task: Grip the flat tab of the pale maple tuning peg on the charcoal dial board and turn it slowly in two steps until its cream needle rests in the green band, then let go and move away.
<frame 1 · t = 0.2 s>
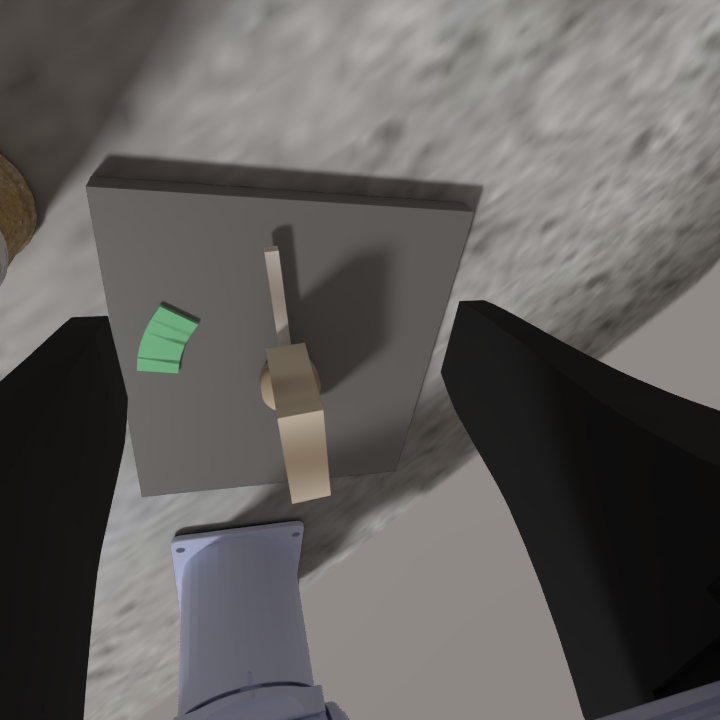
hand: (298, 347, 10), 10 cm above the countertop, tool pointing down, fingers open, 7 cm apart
dial board: (284, 358, 23), on the countertop
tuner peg: (291, 378, 19), point 4 cm above the countertop, hinge at 0.0°
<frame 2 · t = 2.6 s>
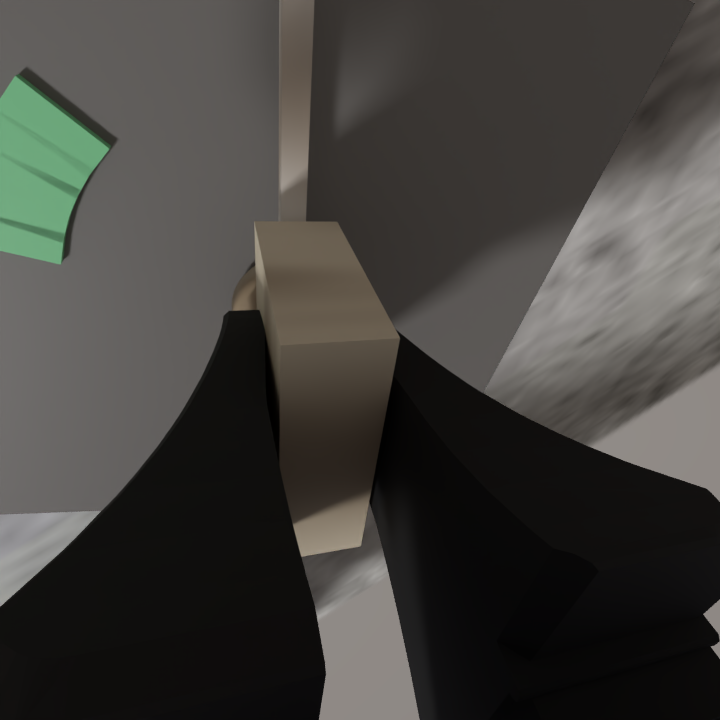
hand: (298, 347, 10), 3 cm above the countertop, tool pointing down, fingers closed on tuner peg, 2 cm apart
dial board: (280, 279, 13), on the countertop
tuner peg: (308, 282, 8), point 4 cm above the countertop, hinge at 0.0°, touching gripper
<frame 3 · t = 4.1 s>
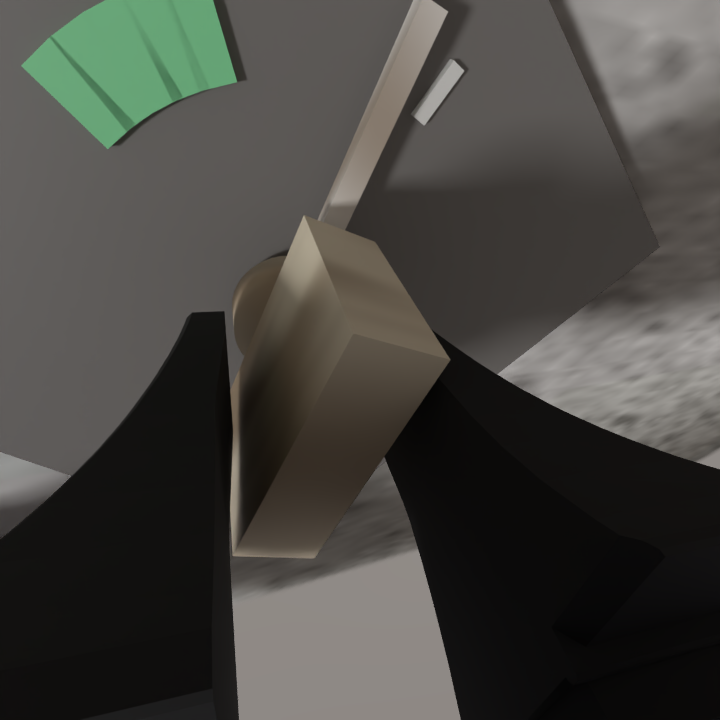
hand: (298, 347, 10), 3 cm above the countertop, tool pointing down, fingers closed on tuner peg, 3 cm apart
dial board: (281, 279, 13), on the countertop
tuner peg: (347, 287, 9), point 4 cm above the countertop, hinge at 11.5°, touching gripper
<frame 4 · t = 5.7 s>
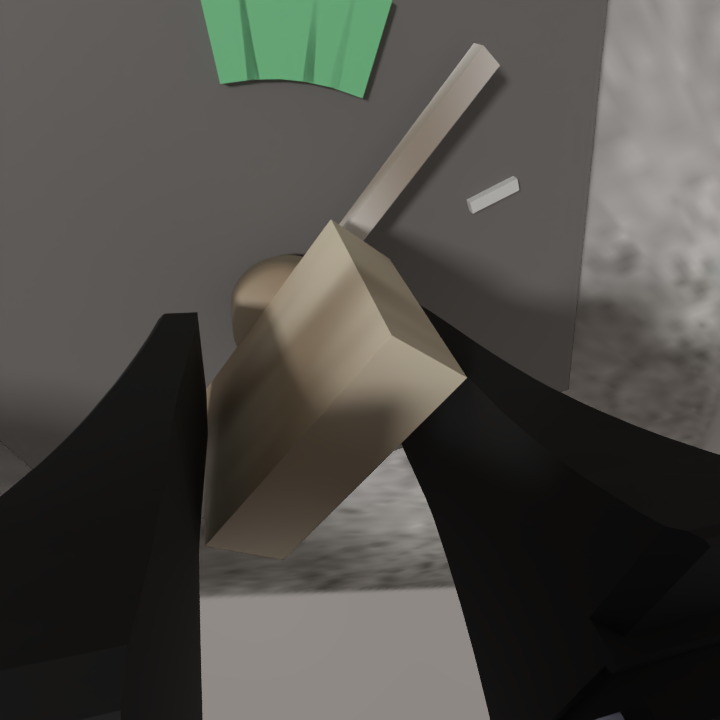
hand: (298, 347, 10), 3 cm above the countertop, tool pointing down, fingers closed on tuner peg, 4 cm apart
dial board: (280, 278, 13), on the countertop
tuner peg: (365, 295, 9), point 4 cm above the countertop, hinge at 28.1°, touching gripper
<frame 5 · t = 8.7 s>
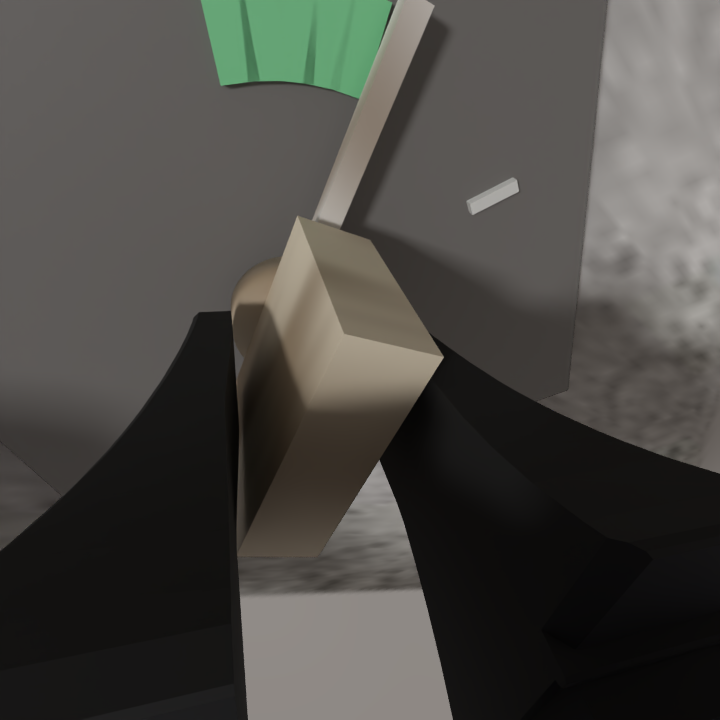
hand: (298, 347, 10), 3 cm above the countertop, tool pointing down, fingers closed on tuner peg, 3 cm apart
dial board: (280, 279, 13), on the countertop
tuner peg: (342, 286, 9), point 4 cm above the countertop, hinge at 42.7°, touching gripper
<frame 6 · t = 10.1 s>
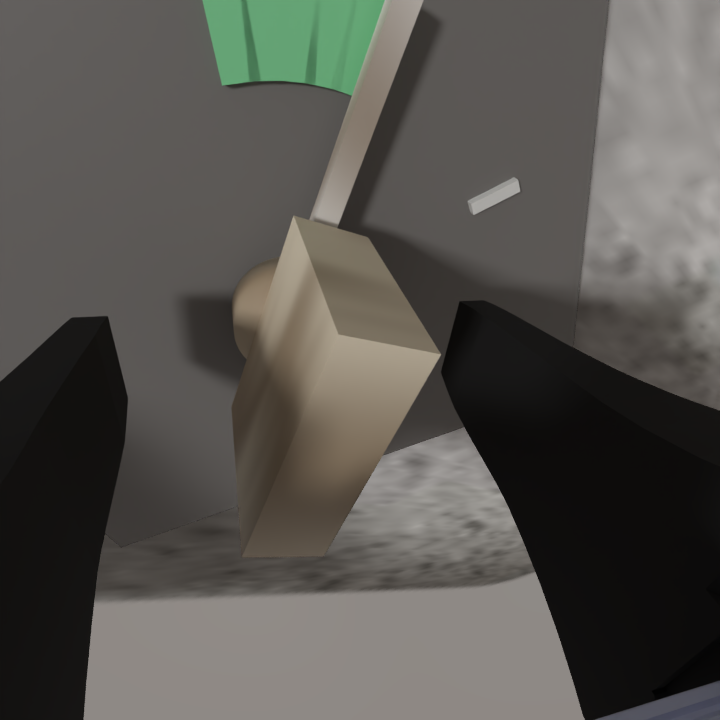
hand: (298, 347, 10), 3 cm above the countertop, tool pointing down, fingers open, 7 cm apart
dial board: (281, 279, 13), on the countertop
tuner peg: (339, 285, 9), point 4 cm above the countertop, hinge at 44.9°
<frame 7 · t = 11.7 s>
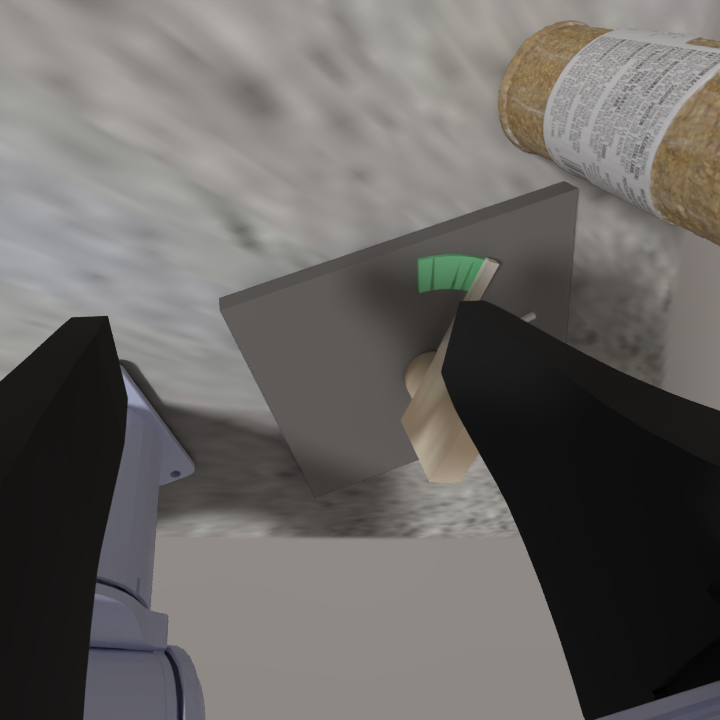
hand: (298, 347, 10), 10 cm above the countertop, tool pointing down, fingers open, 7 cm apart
dial board: (418, 357, 26), on the countertop
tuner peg: (466, 371, 22), point 4 cm above the countertop, hinge at 46.0°
sprinkles bottle: (543, 88, 19), on the countertop
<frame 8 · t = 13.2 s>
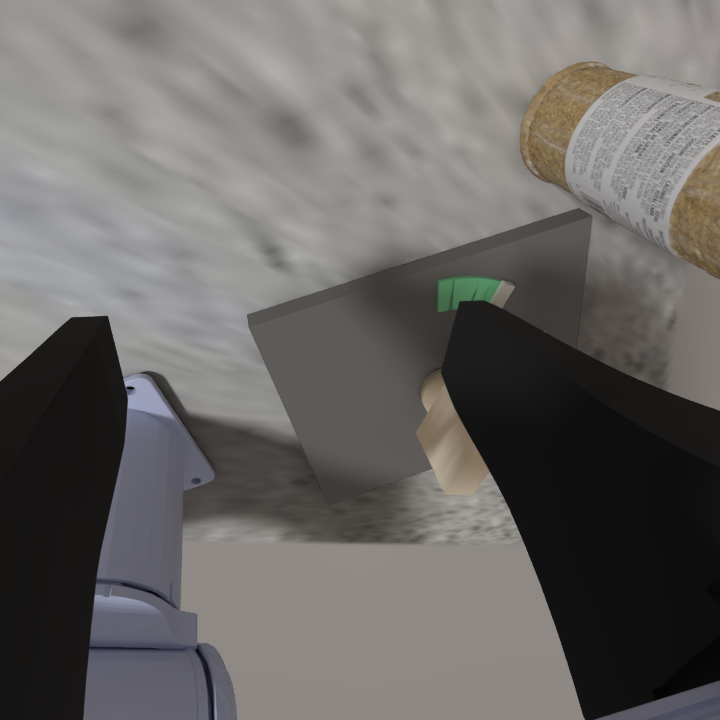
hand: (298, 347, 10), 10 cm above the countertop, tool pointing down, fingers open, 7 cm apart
dial board: (432, 371, 26), on the countertop
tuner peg: (481, 388, 23), point 4 cm above the countertop, hinge at 46.4°
sprinkles bottle: (562, 122, 20), on the countertop
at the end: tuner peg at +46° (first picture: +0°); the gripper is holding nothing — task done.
